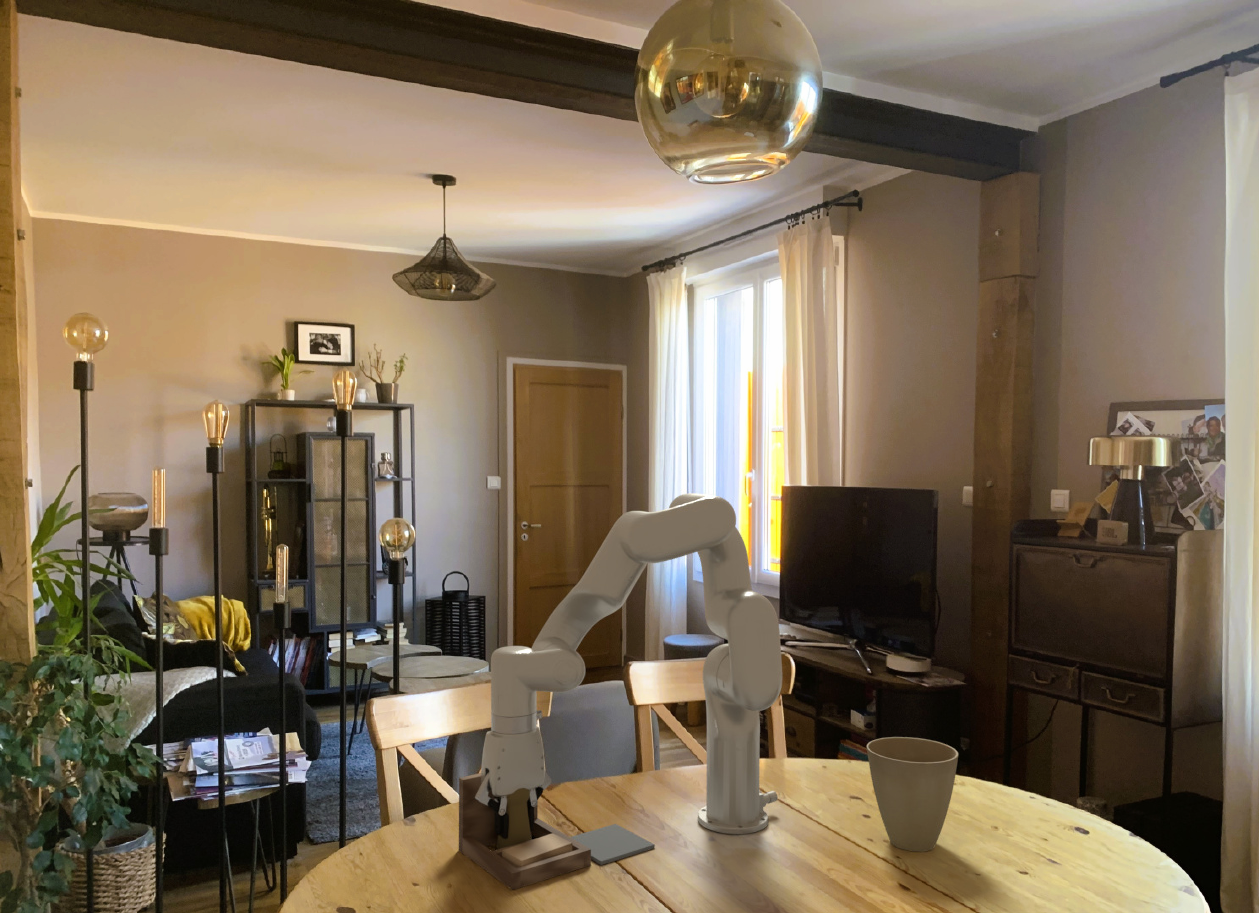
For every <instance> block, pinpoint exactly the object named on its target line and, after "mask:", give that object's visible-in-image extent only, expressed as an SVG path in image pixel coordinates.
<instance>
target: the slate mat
mask: <svg viewBox="0 0 1259 913" xmlns="http://www.w3.org/2000/svg"><path fill="white" fill-rule="evenodd" d="M570 837H571V838H572V839H574V840H576V841H577V842H579V843H581V844H583V845H584V846H586V847H588V848H589V849H591V861H594V862H596V864H598V865H599V866H600V865H601V866H603V865H605V864H609V863H613V862H615V861H619V860H621V859H625V858H627V857H631V856H635V855H638V854H640V853H644V852H647V851H650V850H653V849H655V846H656V845H655V844H654V843H652V842H651V841H649V840H648V839H645V838H643V837H642V836H639V835H637V834H636V833H634V832H632V831H630V830H629V829H626V828H624V827H622V826H621V825H619V824H617V823H614V824H611V825H606V826H603V827H600V828H596V829H594V830H589V831H587V832H583V833H578V834H576V835H573V836H570Z"/></svg>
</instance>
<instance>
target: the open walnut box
mask: <svg viewBox="0 0 1259 913" xmlns="http://www.w3.org/2000/svg"><path fill="white" fill-rule="evenodd" d="M480 786H481V772H480V773H474V774H471V775H467V776H466V775H465V776H462V777H458V851H459V852H460V853H461V854H463V856H466V857H467V858H468V859H469V860H470V861H472V862H473V863H475V864H476V865H478V866H479V867H480V868H482V869H483V870H484V871H486V872H487V873H488V874H490V875H491V876H493V877H494V878H495V879H497V880H498V881H499V882H500V883H502V884H503V885H505V886H506V887H508V888H509V889H510V890H511V891H514V890H517V889H520V888H523V887H526V886H529V885H533V884H535V883H539V882H543V881H545V880H548V879H551V878H555V877H558V876H561V875H564V874H567V873H571V872H574V871H576V870H581V869H583V868H587V867H591V865H592V859H591V849H589V848H588V847H586V846H584V845H583V844H581V843H579V842H577V841H576V840H574V839H572V838H571V837H572V836H569V835H568V834H565V833H564V832H562V831H560V830H559V829H557V828H555V827H554V826H552V825H551V824H548V823H547V822H545V821H544V820H541V819H540V818H539V817H538V815H539V814H538V813H539V812H538V811H539V810H538V807H539V806H538V800H539V799H538V800H537V805H536V806H535V807H534V823H533V831H531V837H534V839H537V838H540V837H543V836H546V835H549V834H552V833H553V834H555V835H557V836H559V837H561V838H563V839H565V840H567V841H570V842H572V852H568V853H565V854H562V855H558V856H555V857H552V858H548V859H545V860H542V861H538V862H535V863H532V864H529V865H525V866H522V867H519V868H516V867H514V866H513V865H511V864H510V863H508V862H507V861H505V860H504V859H503V858H502V850H504V849H507V848H510V847H513V846H516V845H519V844H522V843H525V842H522V843H519V844H515V845H512V846H508V847H505V848H501V849H498V850H496V849H495V850H491V849H490V848H488V847H489V846H493V845H497V841H498V835H497V834H496V832H495V829H494V811H493V810H492V809H491V808H490V807H488V806H487V805H485V804H483V803H481V802H479V801H478V800H476V799H475V796H476V794H477V792H478V790H479V788H480ZM488 797H490V798H493V794H492V790H490V791H489V793H488ZM534 839H532V840H534ZM529 841H531V840H529ZM526 842H528V841H526Z"/></svg>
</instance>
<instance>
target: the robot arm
mask: <svg viewBox="0 0 1259 913" xmlns="http://www.w3.org/2000/svg"><path fill="white" fill-rule="evenodd" d="M668 506H669V507H668V508H666V509H661V510H657V511H649V512H648V511H643V510H631V511H627V512H624V513H623V514H622V515H621V516H620V517H619V518H617V520H616V521H615V522H614V524H613V526H612V528H611V529H610V530H609V532H608V534H607V536H605V539H604V540H603V542H602V544H601V545H600V547H599V549H598V550H597V552H596V554H595V556H594V557H593V558H592V561H590V563H589V565H588V567H587V568H586V570H585V572H584V574H583V575H582V577H581V578H580V580H578V582H577V583H576V584H575V586H574V587H572V589H570V591H569V592H568V594H567V595H566V596H565V597H564V598H563V599H562V600H561V601H560V602H559V604H558V605H557V606H556V607H555V609H554V610H553V611H552V613H551V614H550V615H549V616H548V619H547V620H546V622H544V623H545V624H544V625H543V627H542V628H541V630H540V632H539V633H538V635H537V637H536V638H535V640H534V642H533V643H532V646H531V647H529V646H524V645H510V646H509V645H508V646H507V645H506V646H502V647H500V648H499V647H498V648H497V649H495V650H494V651H492V653H491V657H490V713H491V714H490V716H491V717H490V725H491V726H490V727H491V728H490V730H489V731H487V732H486V734H485V738H484V743H483V749H482V757H481V758H482V759H481V768H480V770H481V771H480V773H481V786H480V788H479V790H478V792H477V794H476V796H475V799H476V800H478V801H479V802H481V803H483V804H485V805H487V806H488V807H490V808H491V809H492V810H493V811H494V829H495V832H496V834H497V835H500V836H501V837H502V838H503V839H507V838H508V830H509V815H508V814H506V805H507V795H510V794H512V793H514V792H515V791H516V790H518V789H520V788H526V789H529V790H530V796H529V799H528V801H527V808H528V817H529V825H530V832H531V831H533V823H534V807H535V806H536V805H537V800H539V799H540V797H541V796H542V794H543V793H544V791H546V789H547V788H548V787H549V786H550V785H551V783H552V778H551V777H550V776H549V773H547V771H546V766H545V761H546V760H545V751H544V744H543V738H542V735H541V734H542V732H541V729H540V727H539V726H538V720H539V719H542V718H543V711H542V710H541V709H539V710H538V708H537V692H547V693H548V692H549V693H566V692H567V693H568V692H570V691H572V690H575V689H576V688H578V687H579V686H580V685H581V684H582V682H583V681H584V679H585V677H586V664H585V661H584V659H583V657H582V656H581V654H580V653H579V652H578V651H577V649H578V647H579V645H580V644H581V642H582V641H583V639H584V637H585V636H586V635H587V634H588V632H590V630H591V629H592V627H593V626H594V625H596V624H597V623H599V621H600V620H603V619H604V618H605V617H607V616H610V615H611V614H613V613H615V612H617V611H618V610H619V609H621V608H622V607H623V605H624V604H625V602H626V601H627V600H628V597H629V596H630V594H631V592H632V590H633V588H635V585H636V584H637V582H638V580H639V579H640V577H641V575H642V573H643V572H644V570H645V569H646V567H647V565H648V564H659V563H663V562H667V561H671V560H675V559H678V558H682V557H685V556H688V555H690V554H694V553H697V555H698V558H699V560H700V565H701V573H702V583H703V584H702V585H703V597H704V616H705V620H706V625H707V627H708V628H709V630H710V631H711V632H712V633H713V634H715V635H716V636H718V637H720V638H722V639H725V640H727V643H724V644H720V645H718V646H716V647H715V648H713V649H712V650H711V651H709V653H708V654H707V656H706V657H705V660H704V661H703V667H702V684H703V691H704V698H705V706H706V707H705V708H706V799H705V800H706V804H705V806H703V807H701V808H700V809H699V810H698V812H697V821H698V822H699V824H700V825H702V827H704V828H705V829H708V830H711V831H714V832H717V833H720V834H721V833H722V834H726V835H727V834H728V835H729V834H730V835H745V834H746V835H747V834H753V833H756V832H760V831H762V830H764V829H765V828H766V827H767V825H768V824H769V816H768V813H767V812H766V811H765V810H764V807H766V805H769V804H771V803H775V802H777V800H778V794H777V793H776V791H775V790H770V791H768V792H765V793H763V792H762V791H761V790H760V737H761V734H760V733H761V726H760V725H761V722H760V713H759V712H760V711H761V712H762V711H764V710H767V709H769V708H770V707H772V705H774V703H775V702H776V701H777V700H778V698H779V697H780V696H779V695H780V693H781V690H782V686H783V664H782V660H783V659H782V650H781V649H782V648H781V633H780V624H779V623H780V622H779V619H778V614H777V612H776V609H775V607H774V606H773V603H772V602H771V601H770V600H769V599H768V598H767V597H766V596H764V595H763V594H761V593H759V592H757V591H754V590H753V587H752V583H751V580H752V579H751V571H750V565H749V557H748V551H747V548H746V547H747V546H746V544H745V541H744V539H743V537H742V534H741V533H740V532H739V530H738V528H737V527H736V525H737V516H736V511H735V508H733V506H732V504H731V503H730V502H729V501H728V500H726V499H725V498H723V497H721V496H718V495H715V494H705V493H704V494H703V493H697V492H696V493H693V492H691V493H684V494H680V495H678V496H677V497H675V498H674V499H673V500H672V501H671V503H670V505H668ZM490 790H492V794H493V798H490V797H488V793H489V791H490ZM499 798H500V799H499Z"/></svg>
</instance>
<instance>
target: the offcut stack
mask: <svg viewBox="0 0 1259 913" xmlns="http://www.w3.org/2000/svg"><path fill="white" fill-rule="evenodd" d="M568 852H572V842H570V841H567V840H565V839H563V838H561V837H559V836H557V835H555V834H553V833H552V834H549V835H546V836H543V837H540V838H537V839H536V838H534V840H533V839H532V840H531V841H528V842H525V843H522V844H519V845H516V846H513V847H510V848H507V849H504V850H502V858H503V859H504V860H505V861H507V862H508V863H510V864H511V865H513V866H514V867H516V868H519V867H522V866H525V865H529V864H532V863H535V862H538V861H542V860H545V859H548V858H552V857H555V856H558V855H562V854H565V853H568Z"/></svg>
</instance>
